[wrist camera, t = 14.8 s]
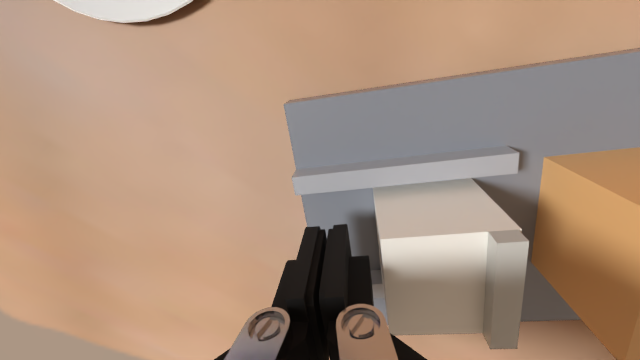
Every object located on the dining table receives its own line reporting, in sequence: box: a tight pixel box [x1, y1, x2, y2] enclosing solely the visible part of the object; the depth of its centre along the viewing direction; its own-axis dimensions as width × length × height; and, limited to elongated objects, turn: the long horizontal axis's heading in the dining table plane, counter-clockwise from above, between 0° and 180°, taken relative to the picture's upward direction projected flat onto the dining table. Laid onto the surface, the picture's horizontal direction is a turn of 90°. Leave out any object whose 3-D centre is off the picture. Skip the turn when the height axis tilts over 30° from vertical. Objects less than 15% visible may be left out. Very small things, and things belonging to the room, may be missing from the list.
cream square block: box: [373, 178, 529, 349], centre depth 11 cm, size 4×4×5 cm
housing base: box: [284, 48, 640, 325], centre depth 11 cm, size 18×12×5 cm, turn 99°
